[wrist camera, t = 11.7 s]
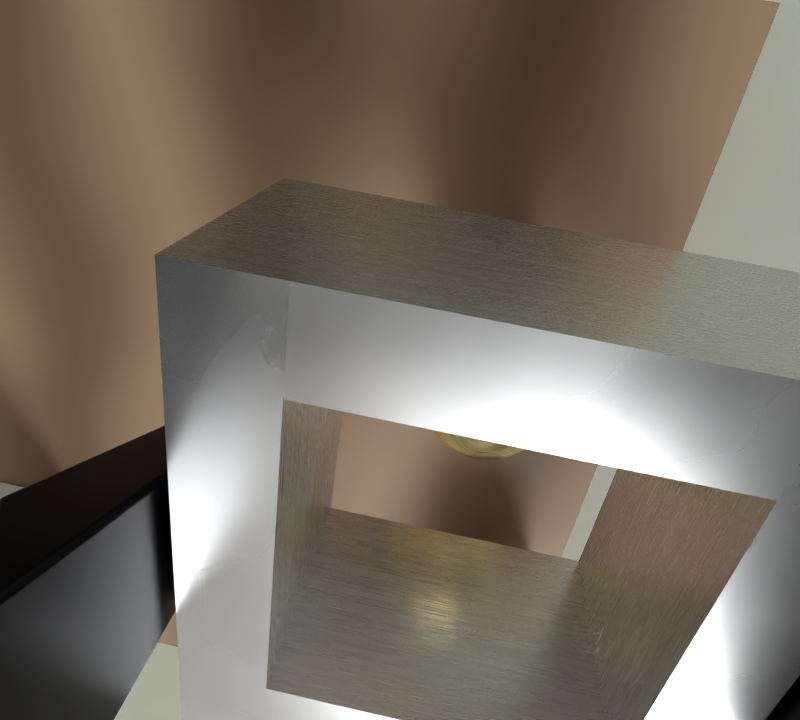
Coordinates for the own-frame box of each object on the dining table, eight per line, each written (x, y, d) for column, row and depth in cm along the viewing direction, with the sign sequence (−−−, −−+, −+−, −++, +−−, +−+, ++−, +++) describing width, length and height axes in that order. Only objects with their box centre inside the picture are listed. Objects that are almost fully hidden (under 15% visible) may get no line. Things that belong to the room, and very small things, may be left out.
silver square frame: (266, 540, 11) (182, 719, 8) (284, 177, 8) (153, 255, 5) (623, 619, 11) (672, 836, 8) (798, 271, 8) (999, 419, 5)
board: (36, 578, 25) (-73, 703, 20) (-127, -131, 14) (-471, -231, 9) (496, 685, 24) (495, 844, 19) (750, 7, 12) (911, -20, 8)
